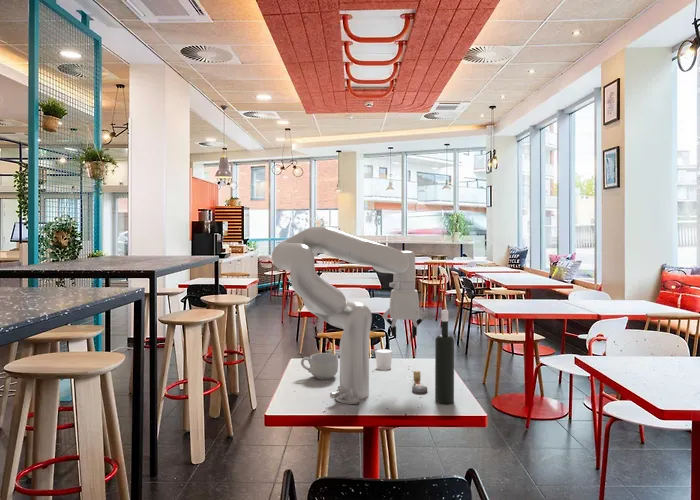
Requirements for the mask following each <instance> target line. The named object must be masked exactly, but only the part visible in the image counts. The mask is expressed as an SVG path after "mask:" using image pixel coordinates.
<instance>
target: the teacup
mask: <svg viewBox="0 0 700 500" xmlns="http://www.w3.org/2000/svg"><path fill="white" fill-rule="evenodd" d="M304 361H308V364H309V367H308V366H306V365H305V363H304ZM300 365H301V366H302V368H304V370H306V371H308V373H310V374H311V375H312V377H315V379H317V380H325V381H326V380H331V379H333V378H334V376H336V374H337V373H338V370H339V369H338V368H339V356H338V355H337V354H335V353H330V352H319V353H314V354H311V355H310V356H305V357H302V359H301V361H300Z"/></svg>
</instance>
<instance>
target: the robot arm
mask: <svg viewBox="0 0 700 500" xmlns="http://www.w3.org/2000/svg"><path fill="white" fill-rule="evenodd" d="M315 254H322V255H326V256H329V257H332V258H334V259H335V258H336V259H339V260H342V261H344V262H346V263H347V262H348V263H351V264H355V265H360V266H371V267H372V269H374V270H375V271H376V272H378V273H382V274H383V273H384V274H392V275H393V280H392V282H389V287H390V288H393V289H391V292H390V299H389V308H388V309H387V310H386V311H385V312H384V313H383V314H382V318H383V319H384V320H385V321H386V322H387V323H388V324H389V325H390V326H391V336H393V339H396V338H397V326H396V323H397V322H398V321H397V320H402V321H403V320H410V321H412V323H413V324H412V327H411V337H412V339H415V338H416V336H417V334H418V333H417V332H418V330H417V329H418V327H419V325H421V323H422V321H424V320H425V319H427V315H426V313H424V312H423V310H422V309H420V301H419V300H420V299H419V293H418V290H417V289H416V254H415V252H414V251H412V250H399V249H397V248H394V247H392V246H388V245H384V244H382V243H378V242H374V241H370V240H368V239H365V238H361V237H357V236H354V235H351V234H349V233H346V232H344V231H342V230H338V229H335V228H332V227H329V226H310V227H308V228H306V229H304V230H302V231H299V232H298V233H297V234H294V235H293V236H291V237H289V238H287V239H285V240H282V241H281V242H280V243H277V245H275V247H274V248H273V251H272V253H271V260H272V263H273V265H274V266H275V267H276V268H277V269H279V270H282V271H287V272H288V271H289V272H290V273H289V274H290V277H289V278H290V283H291V287H292V289H293V291H294V292H295V294H296V295H298V296H299V297H300V298H301V299H302V301H303V302H302V303H303V305H304V307H305V308H306V309H307V311H308V312H310V313H311V314H313V315H315V317H318V318H319V319H321V320H322V321H324V322H326V323H328V324H329V325H330V326H333V327H335V328H338V329H342V330H343V331H342V334H341V337H340V341H339V385H338V386H337V389H336V391H335V390H334V391H332V392H329V393H330V394H329V397H330V398H331V399H334V400H336V401H337V402H339V403H341V404H346V405H360V400H361V399H362V400H363V399H366V398H368V397H369V396H370V333H371V332H370V331H371V327H372V321H373V315H372V311H371V310H370V308H369V307H368V306H367V305H366V304H365V303H362V302H359V301H354V300H347V299H346V296H345V295H344V292H342V291H341V289H339V288H338V287H336V286H334V285H332V284H330V282H329V281H326V280H325V279H324V278H322V277H321V276H320V275H318V273H317V272H316V266H315V263H316V262H315ZM389 317H390V318H389Z"/></svg>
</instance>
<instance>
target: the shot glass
mask: <svg viewBox="0 0 700 500" xmlns="http://www.w3.org/2000/svg"><path fill="white" fill-rule="evenodd" d="M374 355H375V363H376V364H375V365H376V369H377V370H380V371H388V370H390V368H391V369H392V358H393V350H392V349H388V348H379V349H375V351H374Z"/></svg>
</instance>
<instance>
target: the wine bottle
mask: <svg viewBox="0 0 700 500" xmlns="http://www.w3.org/2000/svg"><path fill="white" fill-rule="evenodd" d="M440 310H441V309H440ZM440 314H441V316H440V317H441V320H440V321H441V334H439V335H437V336H436V338H435V339H434V340H435V344H434V346H435V347H434V349H435V353H434V357H435V359H434V360H435V361H434V363H435V365H434V367H435V368H434V371H435V372H434V376H435V377H434V378H435V379H434V381H435V382H434V387H435V388H434V396H435V397H434V402H435V403H436V404H438V405H442V406H443V405H444V406H447V405H448V406H449V405H453V404H455V339H454V337H453V336H452V335H450V334H449V310H447V309H442V310H441V313H440Z"/></svg>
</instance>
